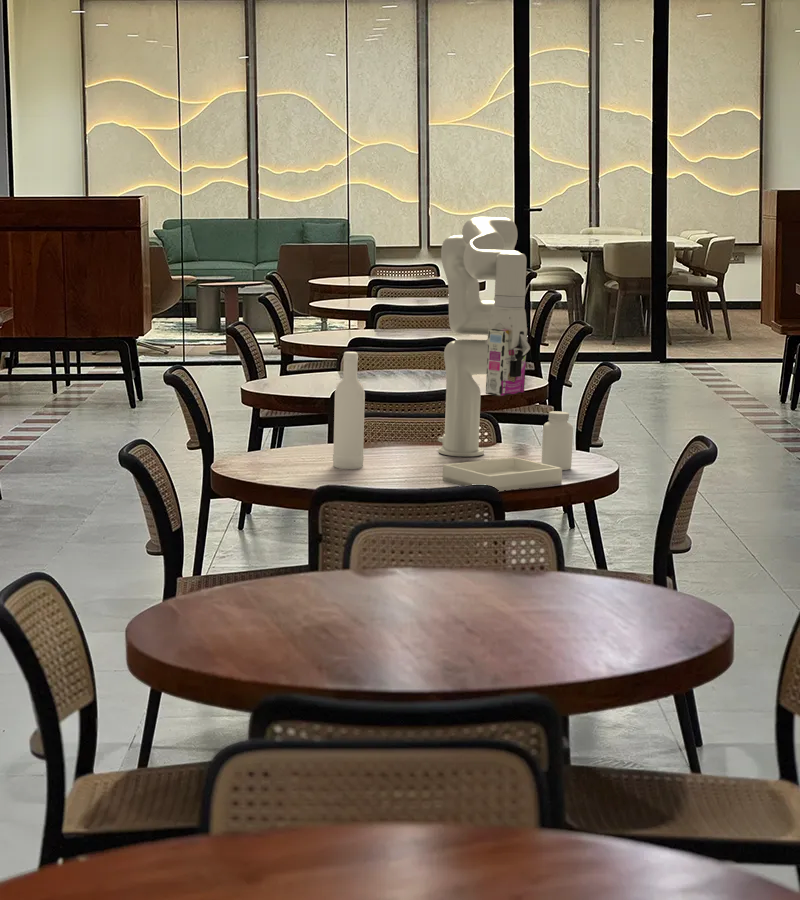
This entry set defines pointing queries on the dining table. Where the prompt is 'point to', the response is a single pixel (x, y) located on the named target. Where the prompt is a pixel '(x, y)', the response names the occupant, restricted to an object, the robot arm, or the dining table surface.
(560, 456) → the pill bottle
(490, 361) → the candy bar box
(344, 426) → the bottle
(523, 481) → the tray
